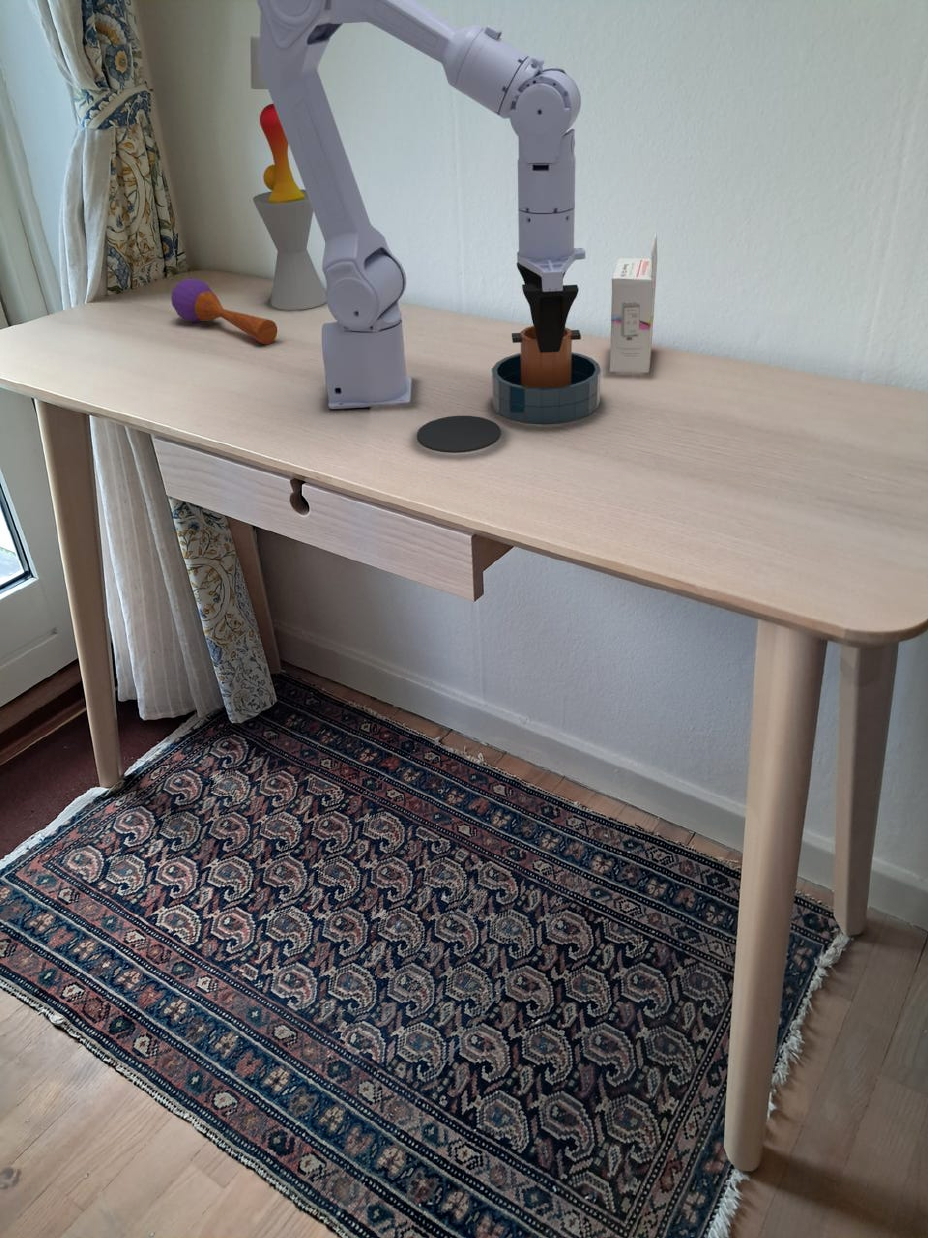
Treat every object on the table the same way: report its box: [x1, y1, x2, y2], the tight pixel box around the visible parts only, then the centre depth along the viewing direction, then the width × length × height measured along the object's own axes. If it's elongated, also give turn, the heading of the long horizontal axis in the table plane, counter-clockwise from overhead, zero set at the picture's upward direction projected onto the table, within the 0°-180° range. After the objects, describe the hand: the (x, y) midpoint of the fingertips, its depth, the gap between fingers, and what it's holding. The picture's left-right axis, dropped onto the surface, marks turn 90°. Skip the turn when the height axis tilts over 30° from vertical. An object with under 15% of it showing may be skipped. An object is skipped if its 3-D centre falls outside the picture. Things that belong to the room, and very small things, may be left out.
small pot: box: [511, 325, 582, 388], centre depth 109 cm, size 7×6×8 cm
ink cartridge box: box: [609, 232, 658, 374], centre depth 117 cm, size 9×5×15 cm, turn 168°
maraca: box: [170, 278, 278, 346], centre depth 138 cm, size 6×6×20 cm
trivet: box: [416, 415, 502, 454], centre depth 106 cm, size 9×9×1 cm
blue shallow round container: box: [491, 352, 602, 425], centre depth 111 cm, size 12×12×4 cm
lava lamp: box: [250, 32, 327, 311], centre depth 139 cm, size 9×9×35 cm
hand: (546, 338), depth 107 cm, fingers open, 7 cm apart
